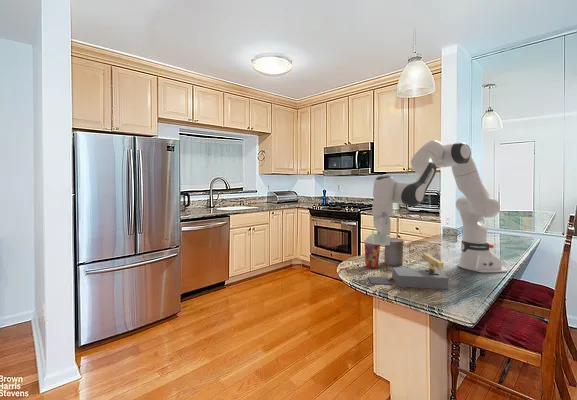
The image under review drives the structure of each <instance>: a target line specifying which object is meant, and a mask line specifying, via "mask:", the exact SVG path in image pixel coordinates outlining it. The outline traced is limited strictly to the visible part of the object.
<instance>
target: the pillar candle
mask: <svg viewBox="0 0 577 400" xmlns="http://www.w3.org/2000/svg"><path fill="white" fill-rule="evenodd" d="M383 255H384V256H383V257H384V258H383V260H384V261H383V262H384V264H385V265H387V266H390V267H401V266H403V261H404V259H403V258H404V257H403V256H404V240H403V239H401V238H397V237H395V236H394V237H390V245H384V254H383Z"/></svg>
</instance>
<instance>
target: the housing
mask: <svg viewBox="0 0 577 400" xmlns="http://www.w3.org/2000/svg"><path fill="white" fill-rule="evenodd" d="M391 267H392V270H391V272H392V273H391V278H392V279H393V281H394V283H395V284H396V285H397V287H398V286H399V288H400V287H401V288H417V289H418V288H419V289H434V290H435V289H436V290H437V289H440V290H449V280H450V277H449V276H447V275H446V274H444V273H443V272H442V271H441V270H440V269H438V268H435V273H429V268H418V267H417V268H412V267H411V268H410V267H396V266H391Z"/></svg>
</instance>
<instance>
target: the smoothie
mask: <svg viewBox="0 0 577 400" xmlns="http://www.w3.org/2000/svg"><path fill="white" fill-rule="evenodd" d="M374 232H375V231H374V229H373V230H372V231H371V235H368V236H367V237H366V239H364V264H365V267H366V268H368V269H377V268H378V266H379V261H380V260H379V259H380V251H381V249H380V248H381V245H374V244H373V243H372V234H375V233H374Z"/></svg>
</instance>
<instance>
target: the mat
mask: <svg viewBox="0 0 577 400" xmlns="http://www.w3.org/2000/svg"><path fill="white" fill-rule="evenodd" d="M367 278H368V280H369V282H370V284H371V285H381V284H384V285H383V286H392V283H391V281H390V279H389V278H388V277H384V276H382V277H381V276H368V277H367Z"/></svg>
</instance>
